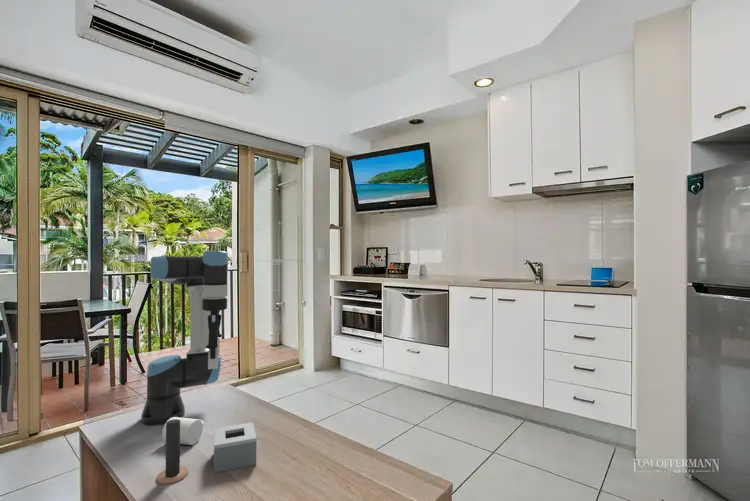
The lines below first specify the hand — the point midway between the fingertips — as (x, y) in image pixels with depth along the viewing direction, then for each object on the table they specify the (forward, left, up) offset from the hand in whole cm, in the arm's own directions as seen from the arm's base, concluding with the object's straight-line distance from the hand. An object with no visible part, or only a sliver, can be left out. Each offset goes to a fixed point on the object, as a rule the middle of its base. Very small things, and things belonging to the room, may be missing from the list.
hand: (214, 362), depth 121 cm
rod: (+9, -11, -29) cm, 32 cm away
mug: (-14, -9, -30) cm, 34 cm away
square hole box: (+6, +6, -29) cm, 31 cm away
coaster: (+9, -11, -29) cm, 32 cm away
